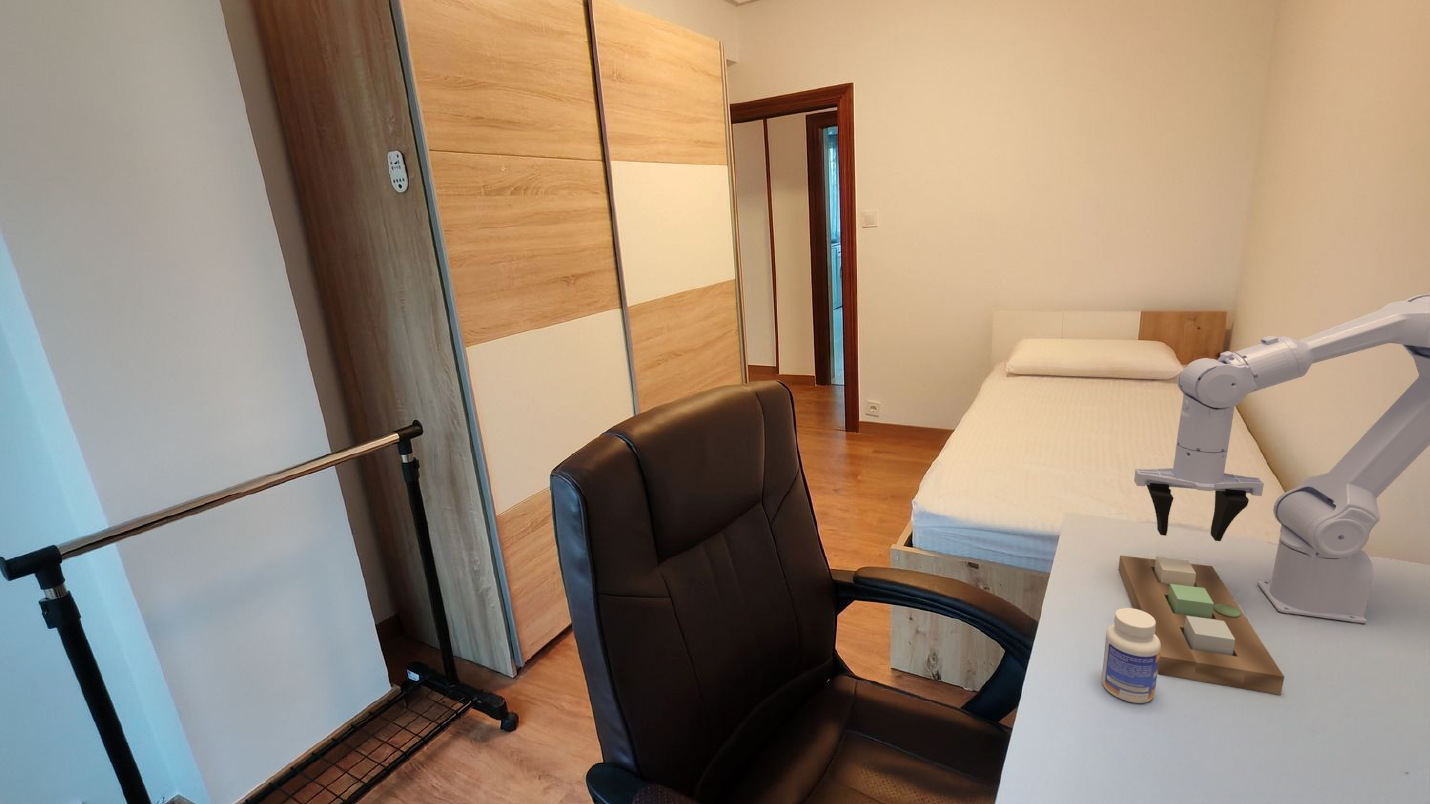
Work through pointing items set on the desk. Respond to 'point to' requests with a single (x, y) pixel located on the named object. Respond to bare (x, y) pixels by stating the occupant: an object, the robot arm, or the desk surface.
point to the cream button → (1174, 571)
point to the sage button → (1190, 601)
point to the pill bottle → (1131, 656)
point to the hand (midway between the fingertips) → (1188, 535)
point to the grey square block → (1208, 635)
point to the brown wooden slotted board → (1176, 658)
